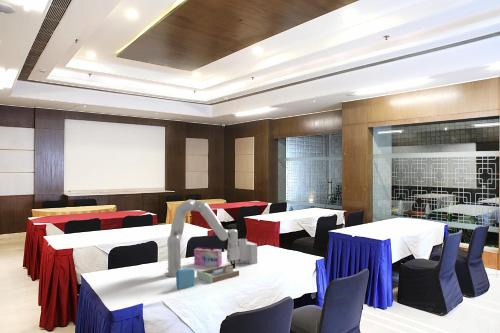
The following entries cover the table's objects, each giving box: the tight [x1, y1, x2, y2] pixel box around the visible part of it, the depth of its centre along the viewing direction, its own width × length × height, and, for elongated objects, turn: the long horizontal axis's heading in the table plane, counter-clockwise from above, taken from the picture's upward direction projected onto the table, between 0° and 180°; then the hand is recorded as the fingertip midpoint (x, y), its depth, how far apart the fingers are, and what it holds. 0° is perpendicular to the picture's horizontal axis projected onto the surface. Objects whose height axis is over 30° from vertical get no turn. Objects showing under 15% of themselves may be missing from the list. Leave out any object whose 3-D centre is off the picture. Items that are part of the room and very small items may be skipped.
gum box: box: [193, 246, 223, 268], centre depth 298 cm, size 24×8×14 cm, turn 73°
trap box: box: [196, 265, 240, 284], centre depth 266 cm, size 19×26×5 cm
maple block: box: [222, 264, 234, 272], centre depth 272 cm, size 5×6×4 cm
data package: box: [175, 267, 196, 290], centre depth 243 cm, size 12×4×12 cm, turn 127°
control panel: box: [236, 238, 258, 265], centre depth 303 cm, size 16×19×20 cm
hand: (233, 268), depth 276 cm, fingers closed
